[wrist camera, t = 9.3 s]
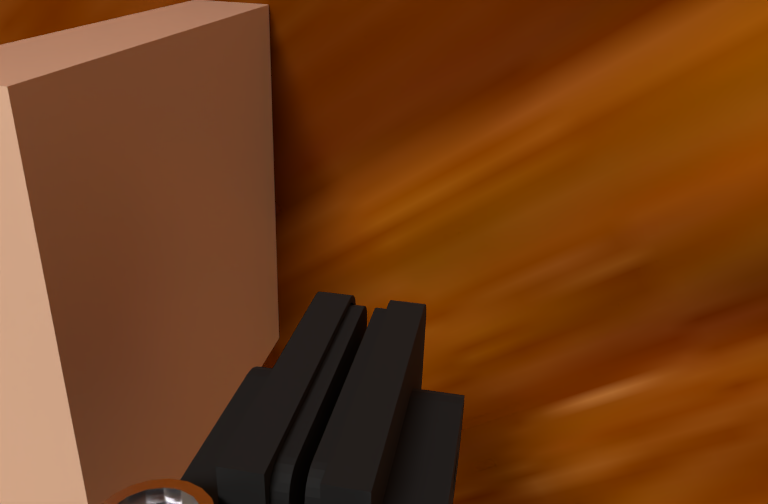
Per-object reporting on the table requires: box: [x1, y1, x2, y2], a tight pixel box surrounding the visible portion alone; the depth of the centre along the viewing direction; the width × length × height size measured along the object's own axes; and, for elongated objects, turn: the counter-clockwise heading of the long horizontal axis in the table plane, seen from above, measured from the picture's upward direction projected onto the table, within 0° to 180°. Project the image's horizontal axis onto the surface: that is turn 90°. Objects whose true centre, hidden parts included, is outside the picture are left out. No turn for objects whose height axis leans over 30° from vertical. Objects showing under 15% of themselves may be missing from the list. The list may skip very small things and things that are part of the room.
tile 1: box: [0, 0, 279, 504], centre depth 14 cm, size 9×2×9 cm, turn 178°
